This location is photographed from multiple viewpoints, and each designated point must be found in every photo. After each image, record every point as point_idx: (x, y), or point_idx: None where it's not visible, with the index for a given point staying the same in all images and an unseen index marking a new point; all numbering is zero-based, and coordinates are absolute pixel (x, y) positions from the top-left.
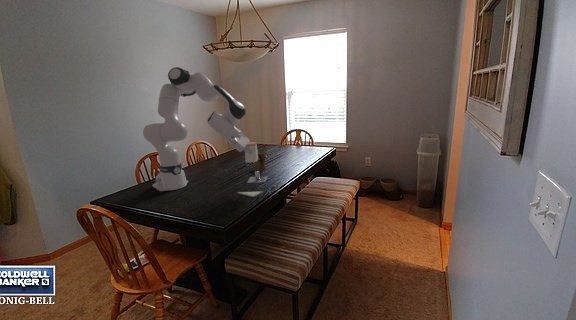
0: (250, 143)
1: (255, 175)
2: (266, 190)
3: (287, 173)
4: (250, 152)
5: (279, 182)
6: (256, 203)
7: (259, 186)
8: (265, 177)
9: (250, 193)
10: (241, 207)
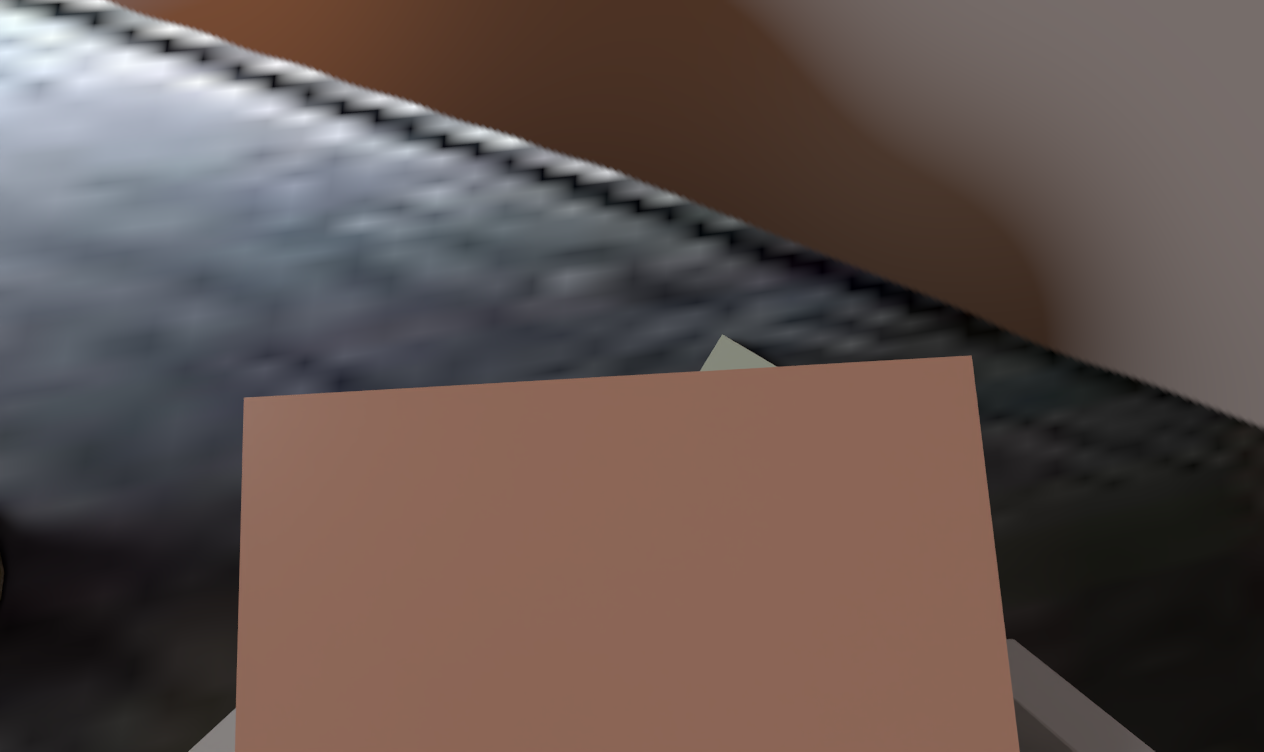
0: (717, 747)
1: None
2: (745, 350)
3: (140, 190)
4: None
5: (469, 244)
6: (1112, 395)
7: None
8: None
9: None
10: (1228, 536)
